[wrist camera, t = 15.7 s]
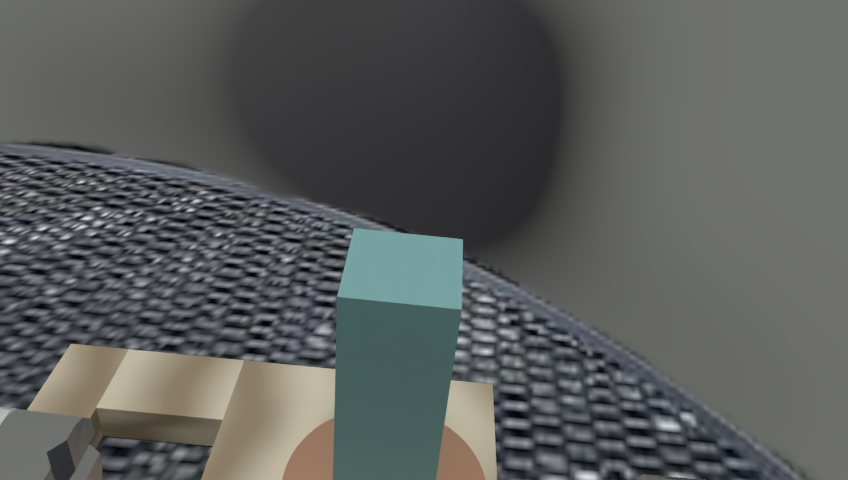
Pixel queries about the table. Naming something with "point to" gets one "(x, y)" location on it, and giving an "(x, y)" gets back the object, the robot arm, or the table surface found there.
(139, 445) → the table surface
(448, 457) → the tan flat disc
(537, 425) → the table surface
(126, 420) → the pocket board
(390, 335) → the peg
